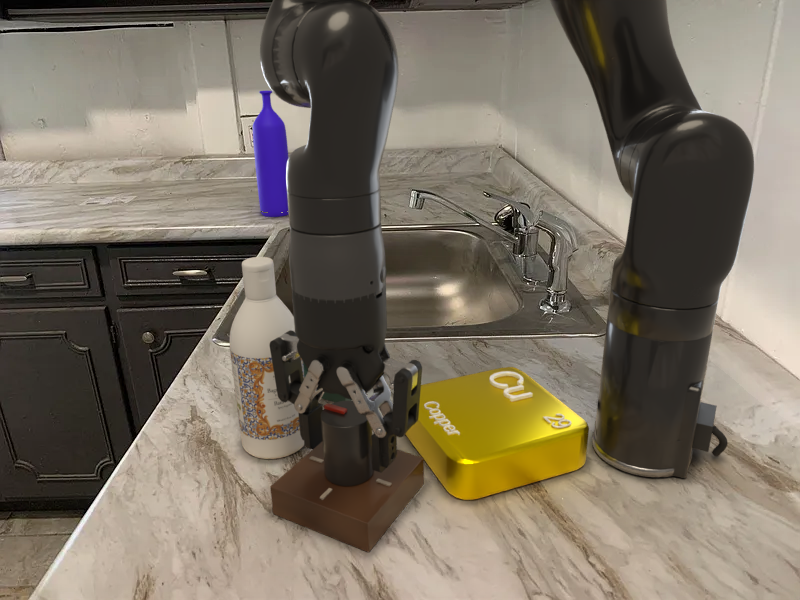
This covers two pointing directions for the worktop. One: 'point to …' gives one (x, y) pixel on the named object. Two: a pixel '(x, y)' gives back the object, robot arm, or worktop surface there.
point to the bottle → (270, 159)
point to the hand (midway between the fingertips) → (348, 454)
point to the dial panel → (347, 498)
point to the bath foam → (262, 366)
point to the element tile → (496, 433)
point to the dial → (346, 444)
